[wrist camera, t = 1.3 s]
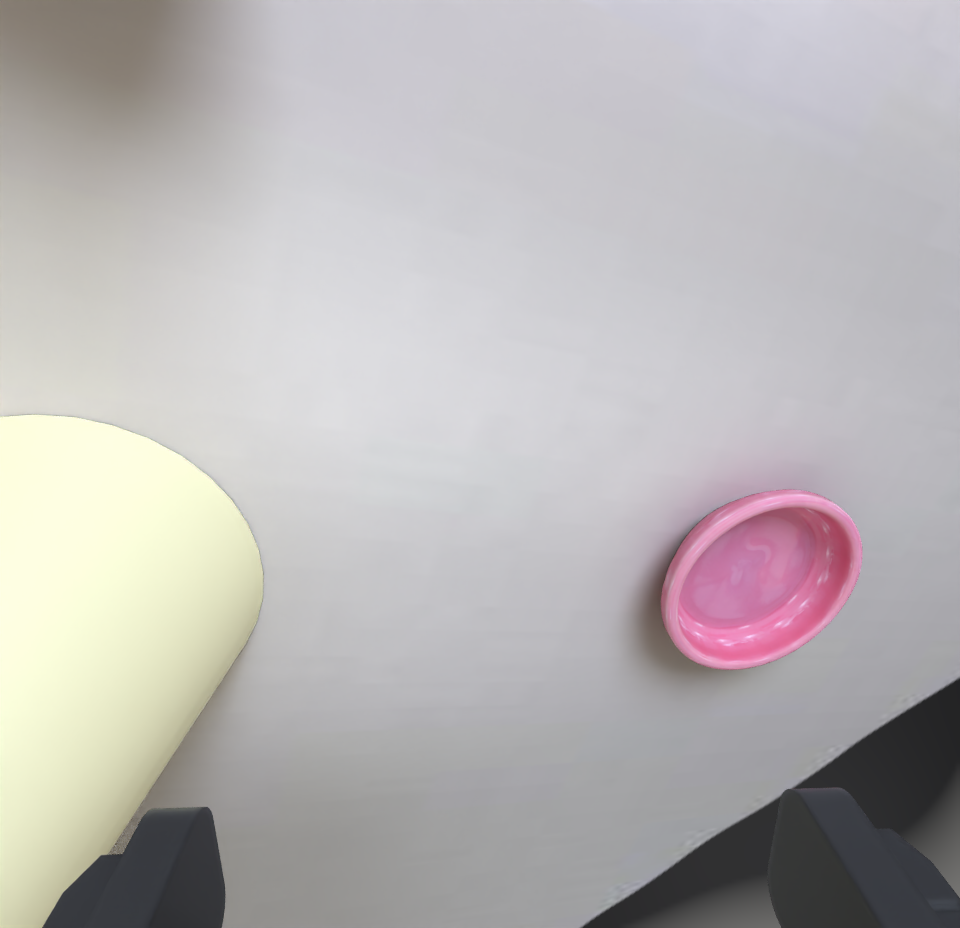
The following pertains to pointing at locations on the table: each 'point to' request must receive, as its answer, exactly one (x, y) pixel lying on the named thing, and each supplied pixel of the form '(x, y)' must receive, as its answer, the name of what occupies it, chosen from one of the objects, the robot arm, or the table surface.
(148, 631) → the cone light
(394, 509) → the table surface
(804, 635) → the saucer
